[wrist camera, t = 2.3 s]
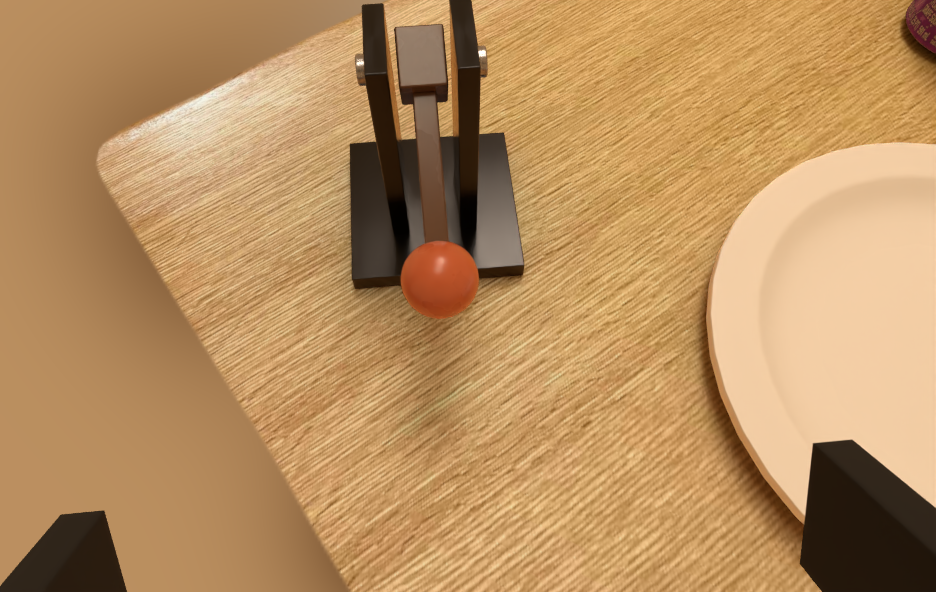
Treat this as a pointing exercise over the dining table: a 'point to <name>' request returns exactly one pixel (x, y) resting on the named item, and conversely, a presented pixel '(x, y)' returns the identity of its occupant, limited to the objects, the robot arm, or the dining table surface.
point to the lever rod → (431, 181)
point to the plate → (832, 316)
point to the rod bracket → (397, 175)
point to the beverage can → (923, 22)
